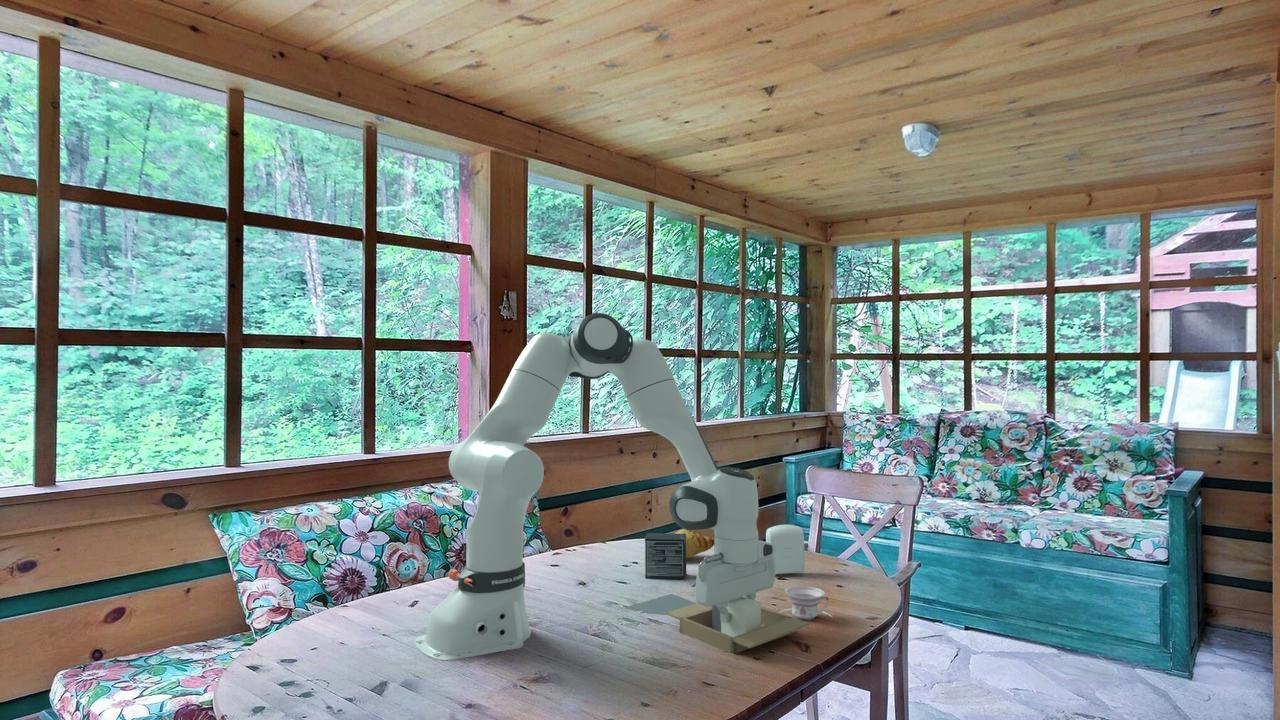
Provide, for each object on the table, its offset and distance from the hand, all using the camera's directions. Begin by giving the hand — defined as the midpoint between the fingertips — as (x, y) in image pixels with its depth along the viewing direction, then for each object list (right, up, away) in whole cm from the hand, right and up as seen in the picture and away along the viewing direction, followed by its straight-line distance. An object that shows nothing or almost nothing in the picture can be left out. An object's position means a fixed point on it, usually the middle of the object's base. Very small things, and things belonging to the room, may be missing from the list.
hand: (736, 618), depth 145 cm
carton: (0, -4, 0) cm, 4 cm away
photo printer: (+19, -4, +45) cm, 49 cm away
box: (0, -3, 0) cm, 3 cm away
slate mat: (-13, -4, +16) cm, 21 cm away
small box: (-13, -4, +42) cm, 44 cm away
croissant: (-8, -4, +63) cm, 63 cm away
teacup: (+16, -4, +10) cm, 20 cm away
